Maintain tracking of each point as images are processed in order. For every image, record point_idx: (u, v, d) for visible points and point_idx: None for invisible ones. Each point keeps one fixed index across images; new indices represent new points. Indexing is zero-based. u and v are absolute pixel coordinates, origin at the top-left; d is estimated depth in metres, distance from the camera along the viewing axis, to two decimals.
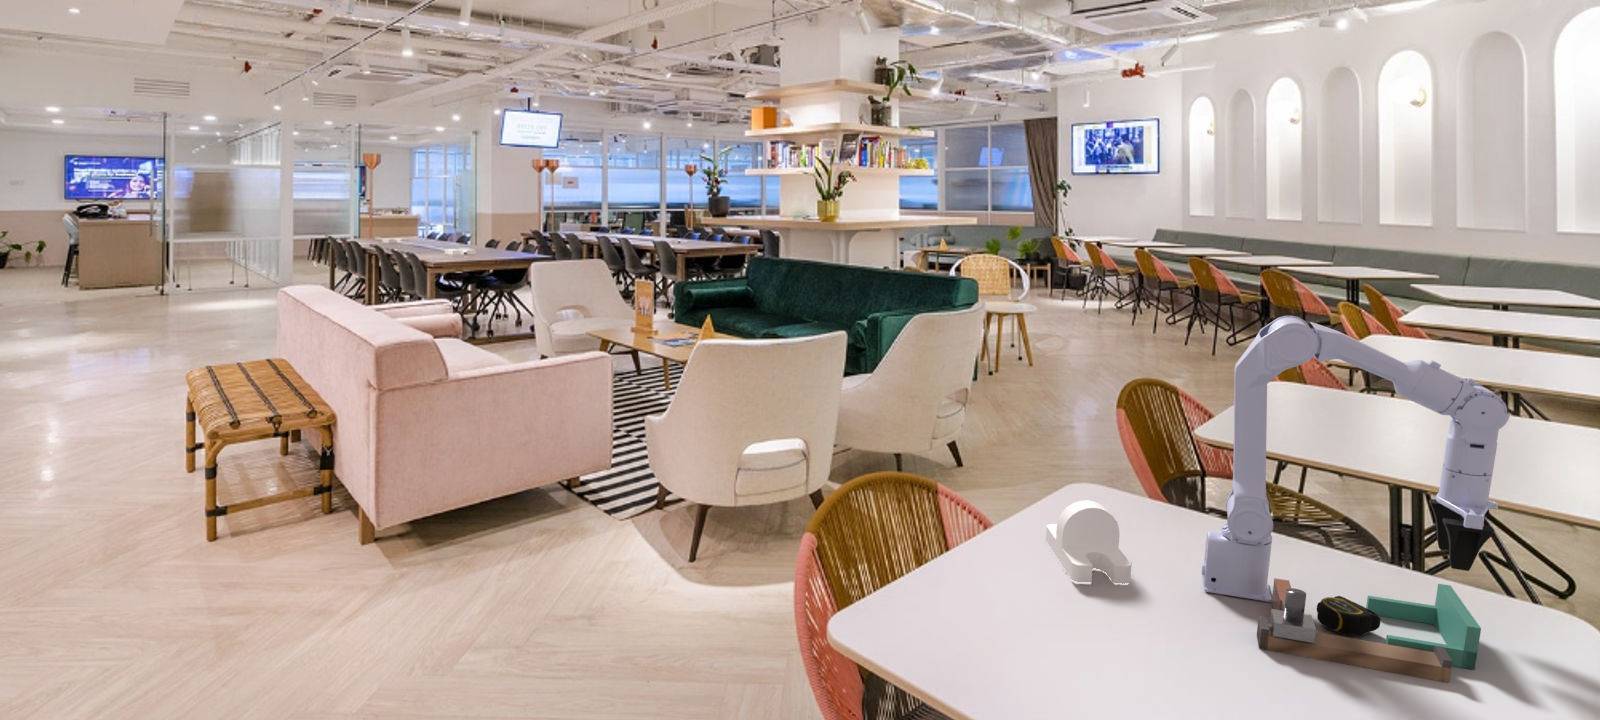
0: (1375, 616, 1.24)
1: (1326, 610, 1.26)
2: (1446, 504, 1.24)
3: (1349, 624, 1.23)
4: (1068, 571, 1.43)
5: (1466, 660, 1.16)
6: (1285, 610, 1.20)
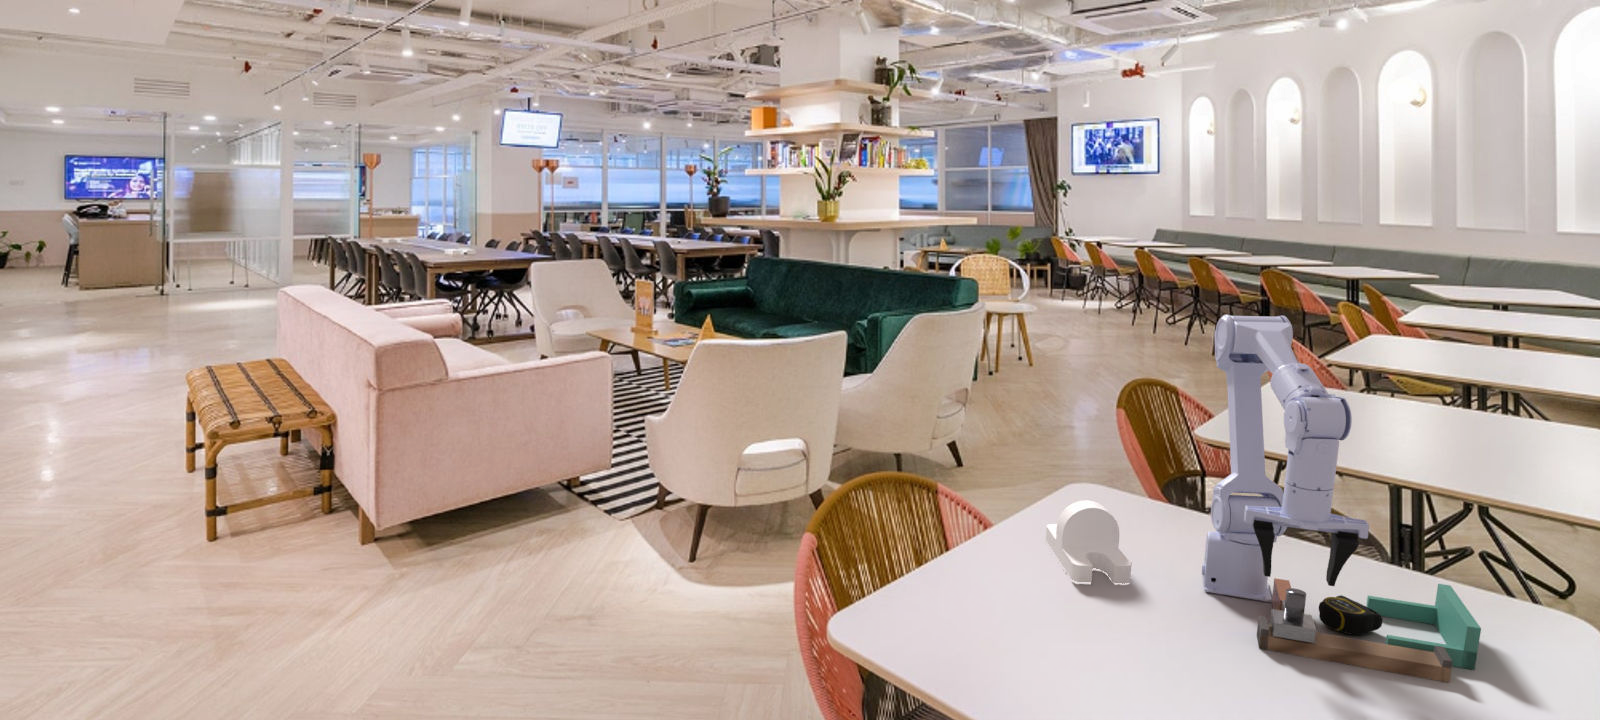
0: (1377, 615, 1.24)
1: (1328, 609, 1.26)
2: None
3: (1351, 623, 1.23)
4: (1068, 571, 1.43)
5: (1466, 660, 1.16)
6: (1285, 610, 1.20)
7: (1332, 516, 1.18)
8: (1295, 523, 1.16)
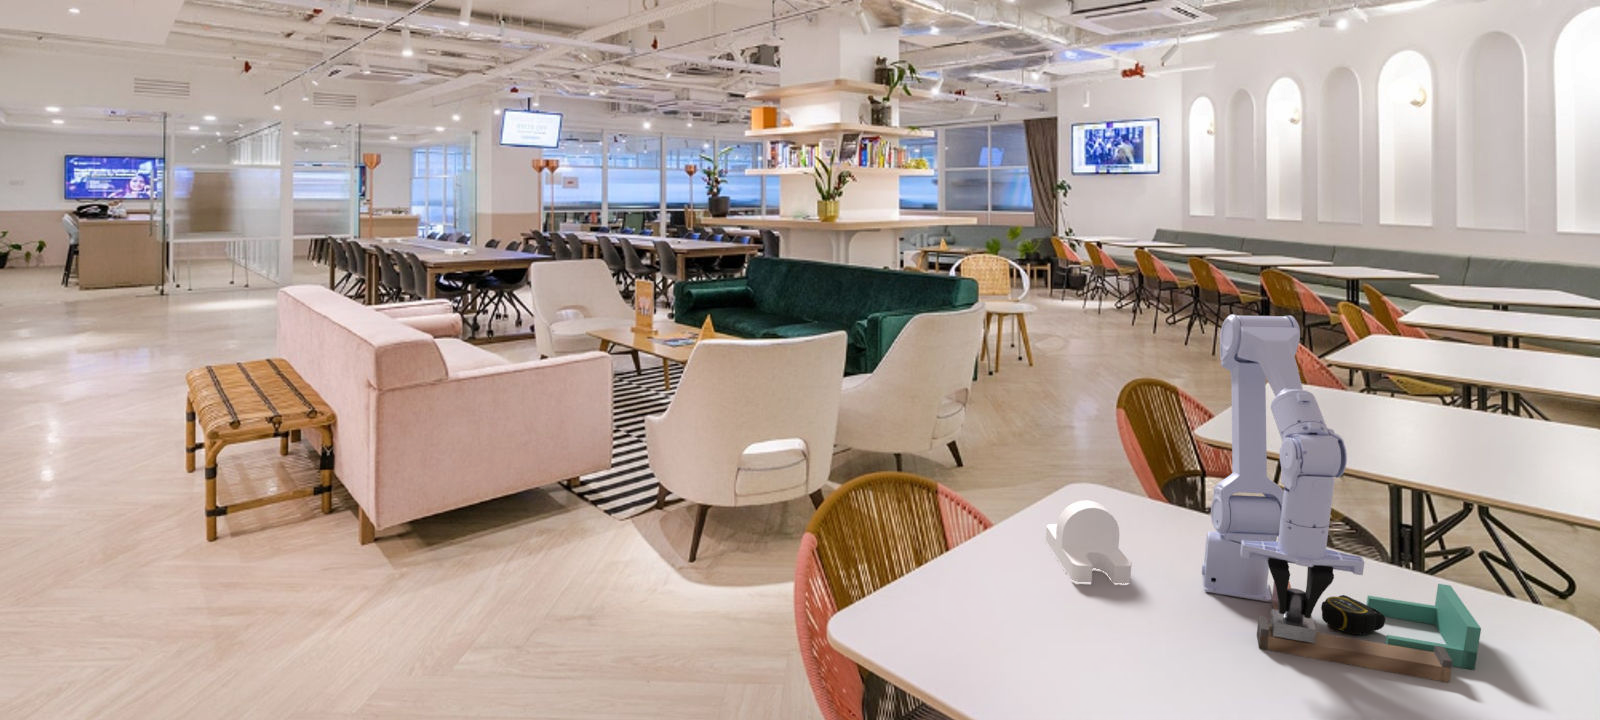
0: (1380, 615, 1.24)
1: (1330, 609, 1.26)
2: None
3: (1354, 623, 1.24)
4: (1068, 571, 1.43)
5: (1466, 660, 1.16)
6: None
7: (1328, 552, 1.19)
8: (1291, 559, 1.17)
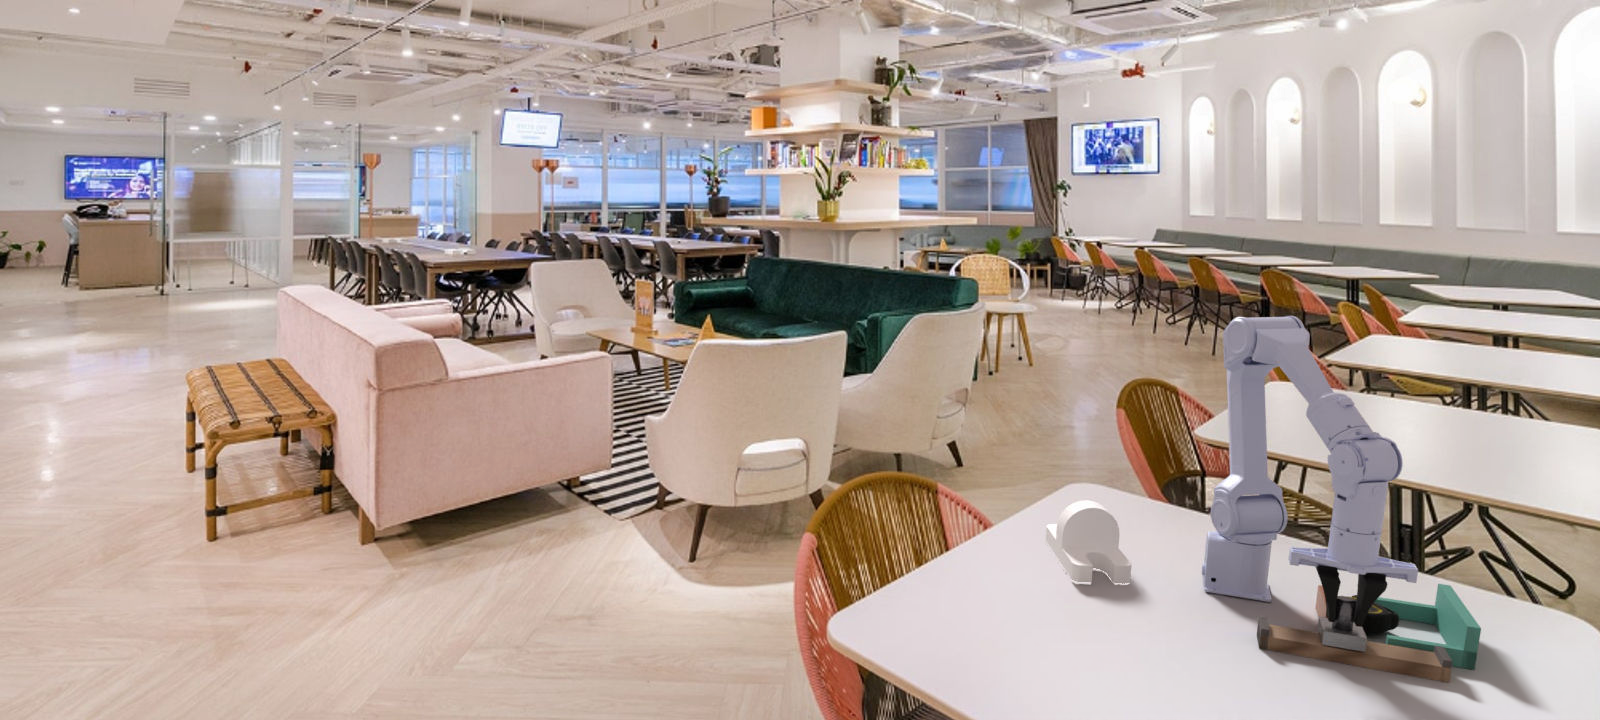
0: (1394, 615, 1.24)
1: None
2: None
3: (1369, 623, 1.23)
4: (1068, 571, 1.43)
5: (1466, 660, 1.16)
6: None
7: (1379, 559, 1.17)
8: (1342, 566, 1.14)
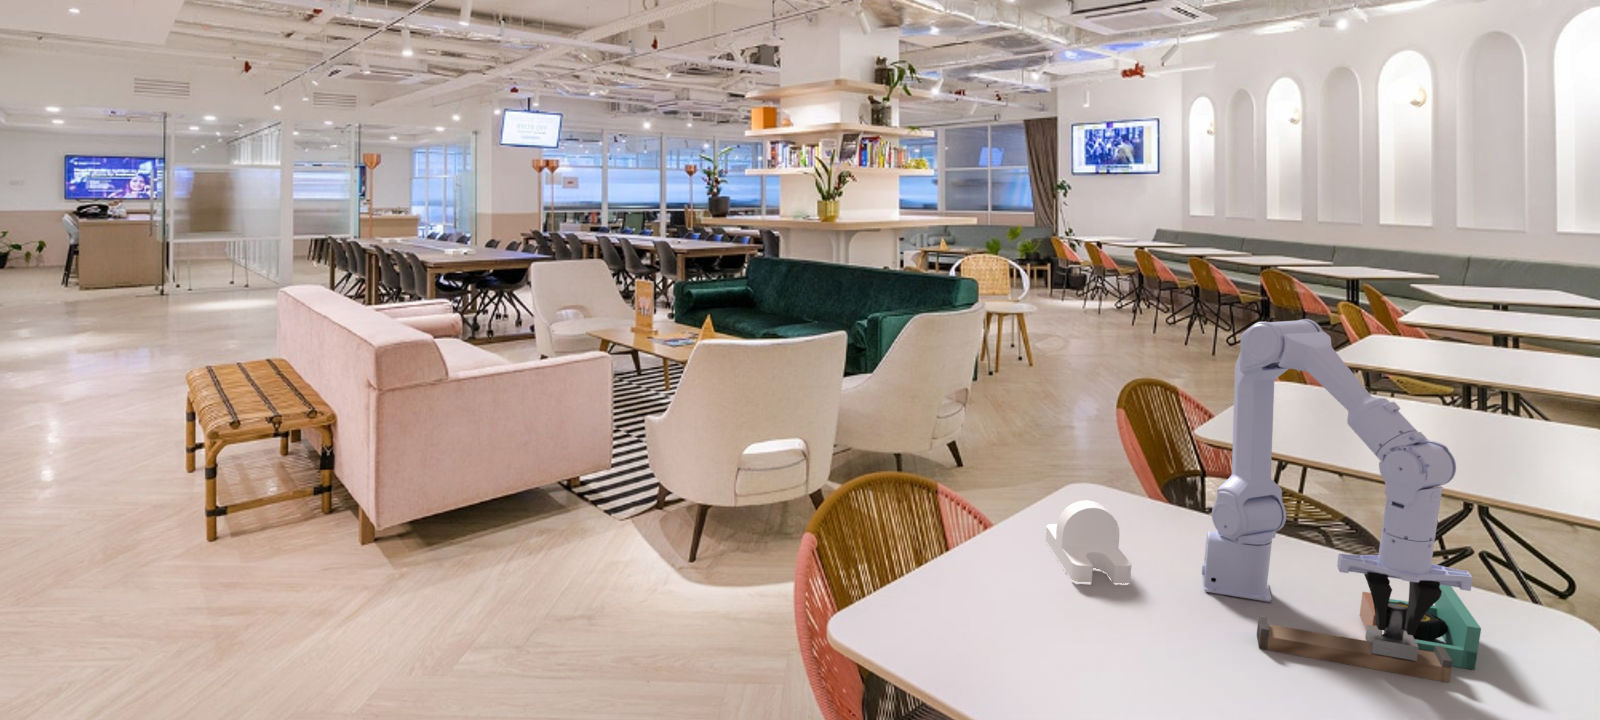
0: (1442, 622, 1.22)
1: None
2: (1377, 558, 1.17)
3: (1418, 631, 1.21)
4: (1068, 571, 1.43)
5: (1466, 660, 1.16)
6: None
7: (1431, 566, 1.14)
8: (1394, 574, 1.12)
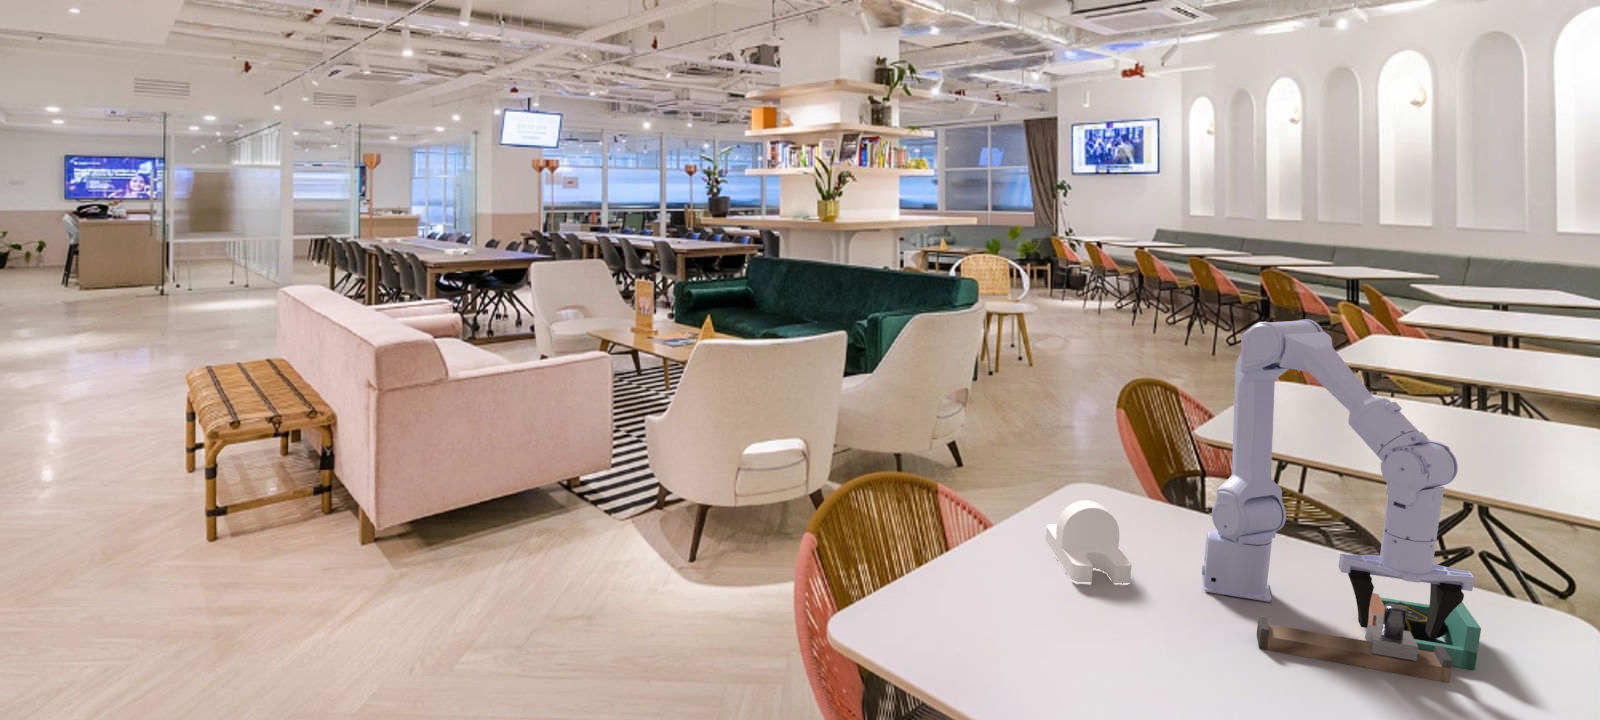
0: None
1: None
2: (1379, 558, 1.17)
3: (1418, 631, 1.21)
4: (1068, 571, 1.43)
5: (1466, 660, 1.16)
6: (1384, 626, 1.16)
7: (1432, 566, 1.14)
8: (1396, 574, 1.12)
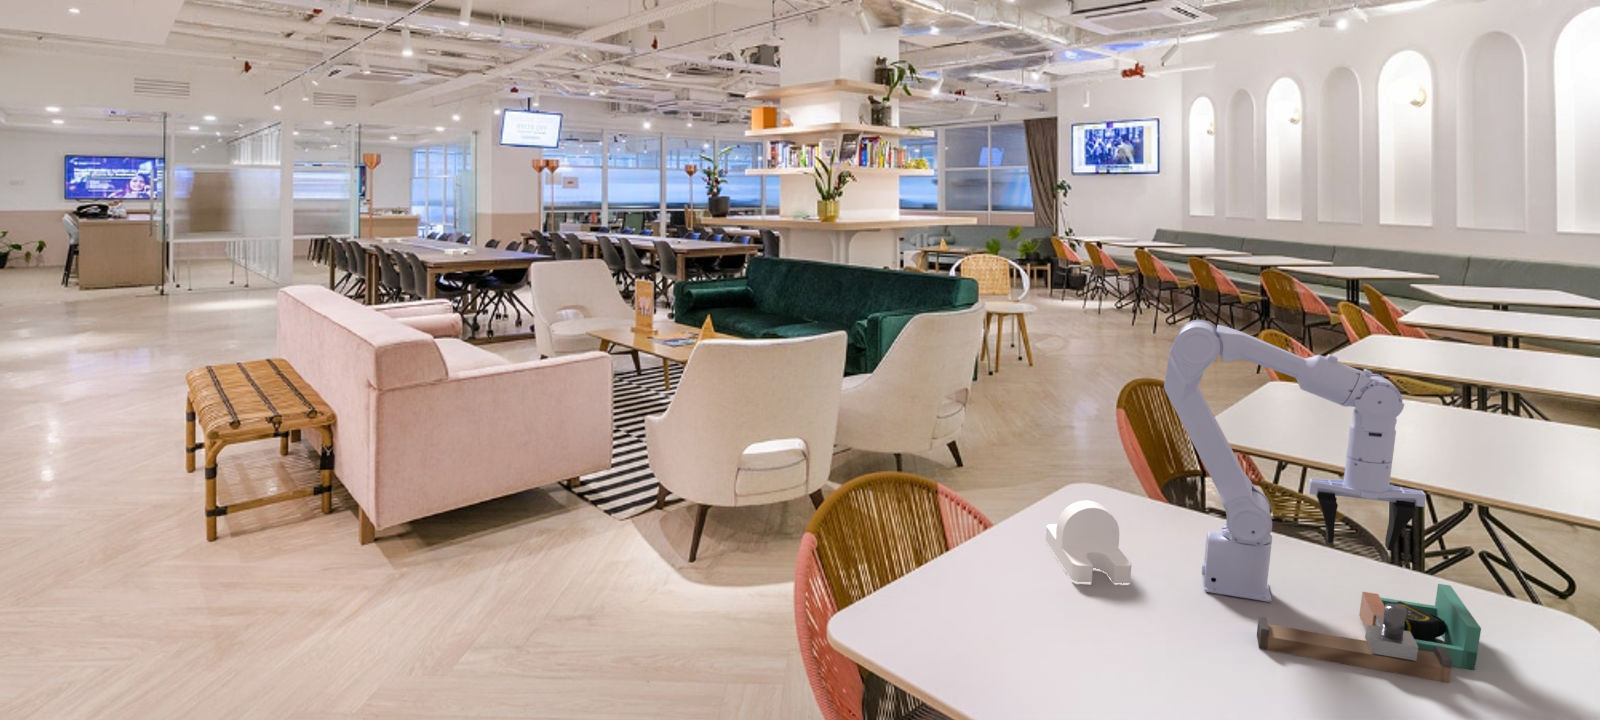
0: (1441, 622, 1.23)
1: None
2: None
3: (1418, 631, 1.21)
4: (1068, 571, 1.43)
5: (1466, 660, 1.16)
6: (1384, 626, 1.16)
7: (1390, 487, 1.30)
8: (1357, 493, 1.28)
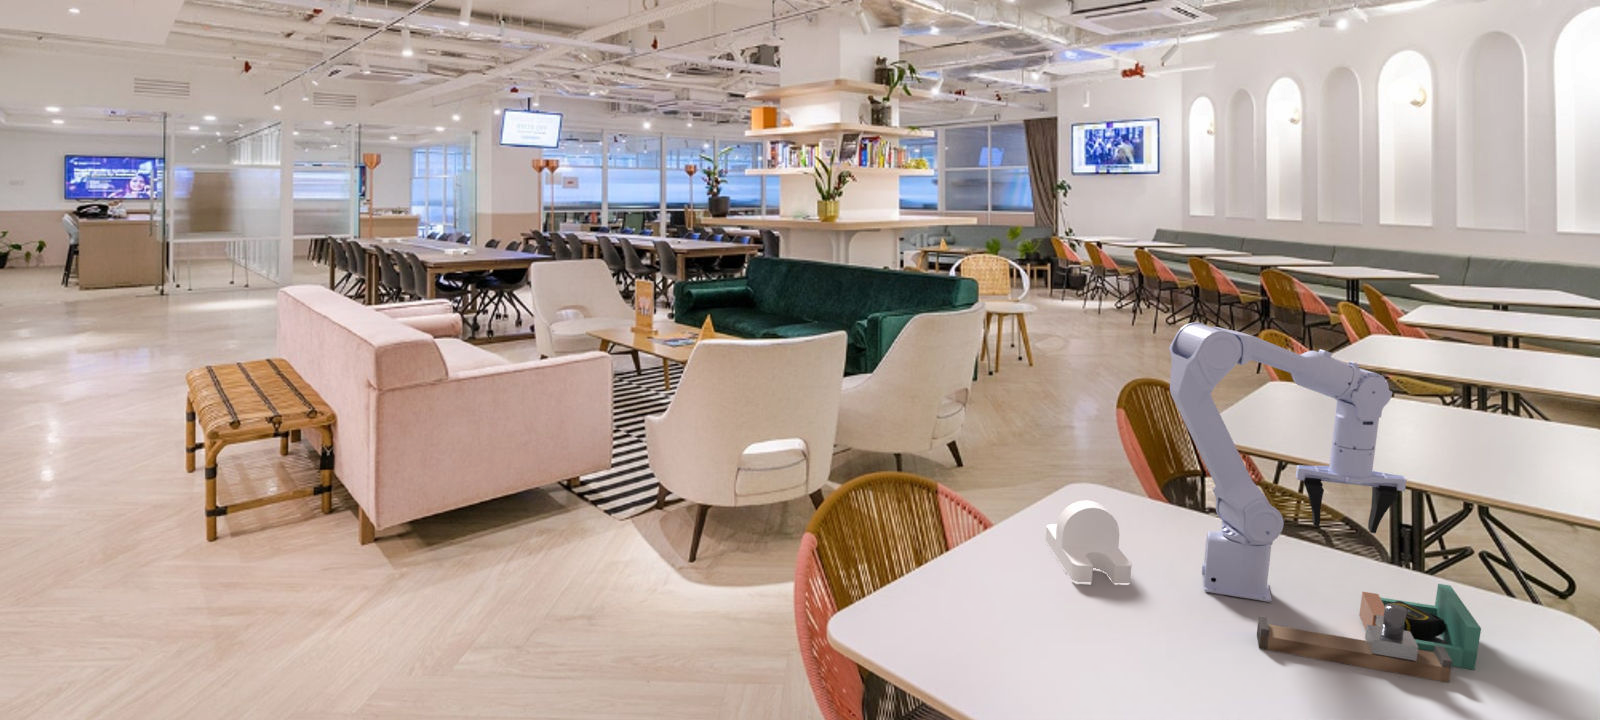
0: (1440, 621, 1.23)
1: None
2: None
3: (1417, 630, 1.22)
4: (1068, 571, 1.43)
5: (1466, 660, 1.16)
6: (1384, 626, 1.16)
7: (1373, 473, 1.36)
8: (1342, 478, 1.34)
